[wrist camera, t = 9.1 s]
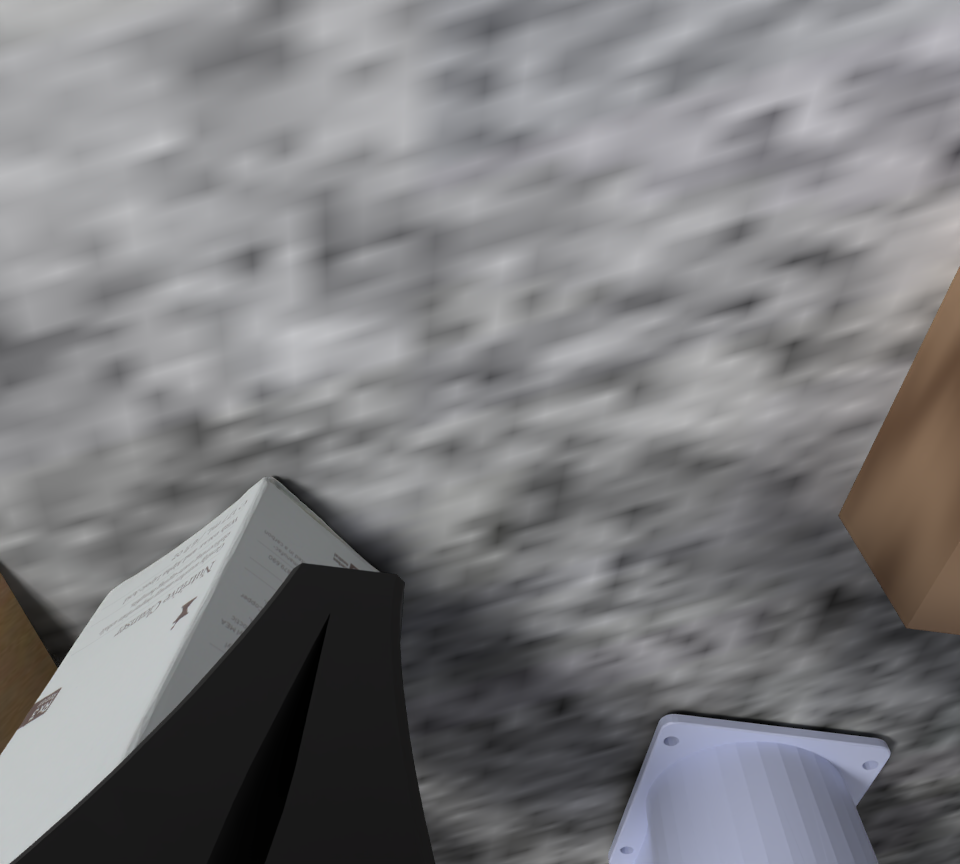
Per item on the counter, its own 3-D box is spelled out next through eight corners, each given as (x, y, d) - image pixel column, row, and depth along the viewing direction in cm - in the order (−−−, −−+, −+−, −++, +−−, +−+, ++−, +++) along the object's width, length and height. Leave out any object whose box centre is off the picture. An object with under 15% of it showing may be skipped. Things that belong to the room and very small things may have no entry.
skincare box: (270, 466, 20) (-149, 1240, 8) (412, 591, 23) (268, 1351, 10) (101, 595, 23) (-396, 1298, 11) (241, 694, 26) (-36, 1373, 13)
